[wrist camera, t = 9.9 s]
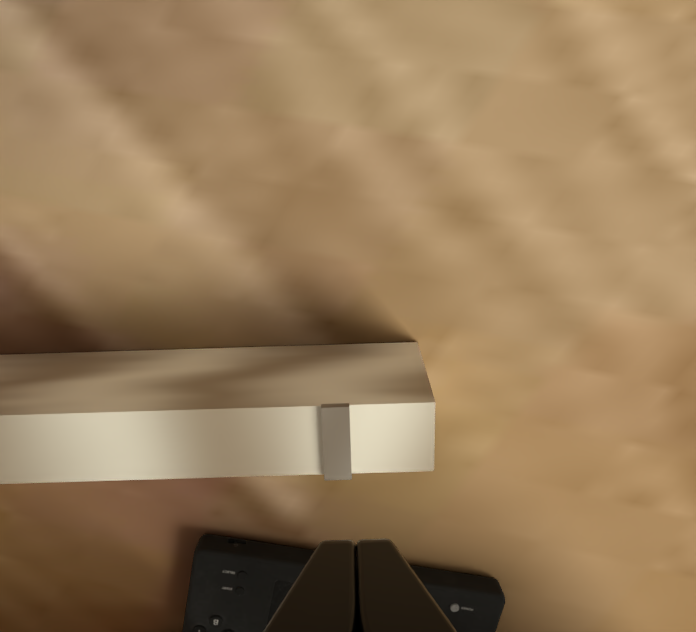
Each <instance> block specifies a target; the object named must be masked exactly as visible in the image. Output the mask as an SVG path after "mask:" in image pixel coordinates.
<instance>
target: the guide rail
mask: <svg viewBox="0 0 696 632" xmlns="http://www.w3.org/2000/svg"><path fill="white" fill-rule="evenodd" d="M434 447H435V400H434V396H433V393H432V389H431V386H430V383H429V379H428V376H427V372H426V369H425V366H424V362H423V359H422V355H421V352H420V349H419V345H418V342H402V343H369V344H336V345H304V346H271V347H238V348H206V349H173V350H140V351H108V352H75V353H42V354H10V355H0V484H16V483H49V482H83V481H116V480H150V479H183V478H217V477H250V476H284V475H317V474H324V479H325V480H352V473H384V472H418V471H434Z"/></svg>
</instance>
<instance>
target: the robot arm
mask: <svg viewBox="0 0 696 632" xmlns="http://www.w3.org/2000/svg"><path fill="white" fill-rule="evenodd" d="M356 561H357V569H356ZM263 632H457V631H456V630H455V628H454V627H453V625H452V624H451V623H450V621H449V620H448V618H447V617H446V616H445V614H444V613H443V612H442V610H441V609H440V607H439V606H438V605H437V603H436V602H435V600H434V599H433V598H432V596H431V595H430V593H429V592H428V591H427V589H426V588H425V586H424V585H423V584H422V582H421V581H420V579H419V578H418V577H417V575H416V574H415V572H414V571H413V570H412V568H411V567H410V565H409V564H408V563H407V561H406V560H405V558H404V557H403V556H402V554H401V553H400V552H399V550H398V549H397V547H396V546H395V545H394V543H393V542H392V541H391V540H389V539H362V540H359V541H358V542H357V544H356V545H355V543H354V542H353V541H352V540H326V541H322V542H321V543H320V544H319V545H318V547H317V548H316V550H315V551H314V553H313V554H312V556H311V557H310V559H309V561H308V562H307V564H306V565H305V567H304V568H303V570H302V572H301V573H300V575H299V576H298V578H297V579H296V581H295V582H294V584H293V586H292V587H291V589H290V590H289V592H288V593H287V595H286V597H285V598H284V600H283V601H282V603H281V604H280V606H279V607H278V609H277V611H276V612H275V614H274V615H273V617H272V618H271V620H270V622H269V623H268V625H267V626H266V628H265V629H264V631H263Z"/></svg>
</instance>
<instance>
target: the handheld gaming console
mask: <svg viewBox="0 0 696 632" xmlns="http://www.w3.org/2000/svg"><path fill="white" fill-rule="evenodd" d="M314 551H315V550H308V549H302V548H295V547H289V546H282V545H276V544H269V543H263V542H256V541H250V540H243V539H237V538H231V537H224V536H217V535H210V534H206V535H203V536H202V537H201V538H200V540H199V542H198V544H197V547H196V549H195V552H194V557H193V564H192V571H191V577H190V584H189V591H188V598H187V604H186V611H185V618H184V624H183V631H182V632H263V631H264V629H265V628H266V626H267V625H268V623H269V622H270V620H271V618H272V617H273V615H274V614H275V612H276V611H277V609H278V607H279V606H280V604H281V603H282V601H283V600H284V598H285V597H286V595H287V593H288V592H289V590H290V589H291V587H292V586H293V584H294V582H295V581H296V579H297V578H298V576H299V575H300V573H301V572H302V570H303V568H304V567H305V565H306V564H307V562H308V561H309V559H310V557H311V556H312V554H313V553H314ZM410 567H411V568H412V570H413V571H414V572H415V574H416V575H417V577H418V578H419V579H420V581H421V582H422V584H423V585H424V586H425V588H426V589H427V591H428V592H429V593H430V595H431V596H432V598H433V599H434V600H435V602H436V603H437V605H438V606H439V607H440V609H441V610H442V612H443V613H444V614H445V616H446V617H447V618H448V620H449V621H450V623H451V624H452V625H453V627H454V628H455V630H456V631H457V632H495V631H496V628H497V625H498V622H499V619H500V616H501V613H502V610H503V607H504V604H505V596H504V593H503V591H502V589H501V587H500V585H499V582H498V581H497V580H496V579H494V578H489V577H482V576H476V575H470V574H463V573H457V572H450V571H444V570H438V569H431V568H425V567H418V566H412V565H410ZM356 569H357V561H356Z"/></svg>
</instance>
